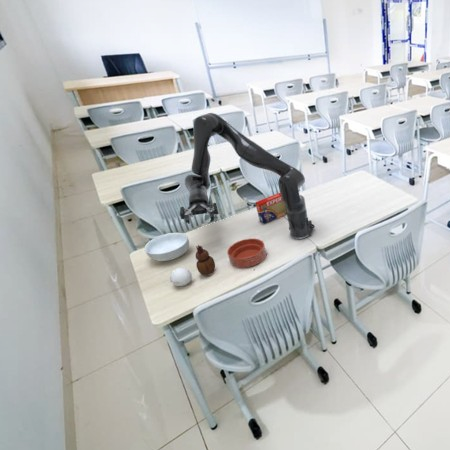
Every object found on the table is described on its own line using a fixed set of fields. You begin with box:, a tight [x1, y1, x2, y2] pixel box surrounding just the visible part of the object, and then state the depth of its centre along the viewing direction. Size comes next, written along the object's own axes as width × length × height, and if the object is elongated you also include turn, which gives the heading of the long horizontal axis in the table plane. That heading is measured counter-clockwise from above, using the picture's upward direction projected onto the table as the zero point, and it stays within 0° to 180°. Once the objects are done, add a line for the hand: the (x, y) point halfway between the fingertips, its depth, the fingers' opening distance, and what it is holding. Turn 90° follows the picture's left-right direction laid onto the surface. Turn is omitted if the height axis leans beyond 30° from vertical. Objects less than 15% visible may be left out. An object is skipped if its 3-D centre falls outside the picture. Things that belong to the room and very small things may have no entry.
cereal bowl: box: [144, 232, 190, 262], centre depth 157 cm, size 17×17×7 cm
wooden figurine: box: [195, 244, 216, 276], centre depth 145 cm, size 7×6×15 cm
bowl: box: [226, 238, 267, 268], centre depth 156 cm, size 15×15×6 cm
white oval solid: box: [165, 267, 193, 287], centre depth 140 cm, size 10×7×7 cm
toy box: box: [254, 192, 287, 225], centre depth 185 cm, size 18×4×12 cm, turn 138°
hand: (200, 220), depth 146 cm, fingers open, 8 cm apart
